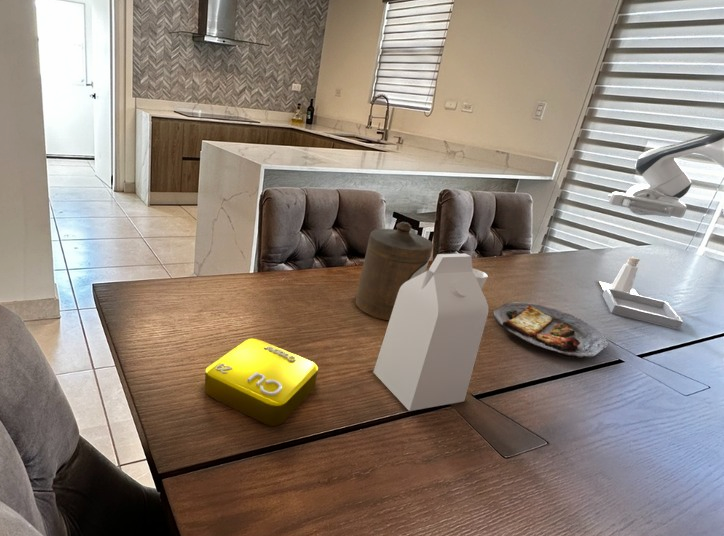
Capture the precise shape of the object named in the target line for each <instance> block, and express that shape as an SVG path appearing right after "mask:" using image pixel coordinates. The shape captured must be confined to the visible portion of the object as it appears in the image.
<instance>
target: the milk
mask: <svg viewBox="0 0 724 536" xmlns="http://www.w3.org/2000/svg"><path fill="white" fill-rule="evenodd" d="M473 269H474V268H473V259H472V256H471V255H469V254H467V253H466V252H465V253H463V252H462V253H438V254H436V256H435V258H434V260H433V261H432V263H431V265H430V267H429V268H428V269H427V270H426V272H424V273H422V274H420V275H418V276H416V277H414V278H412V279H410V280H408V281H406V282H405V283H404V284H403V285H402V286H401V287H400V289H399V292H398V295H397V298H396V301H395V304H394V308H393V311H392V314H391V317H390V320H388V324H387V327H386V330H385V333H384V337H383V340H382V343H381V346H380V349H379V352H378V355H377V359H376V362H375V365H374V369H373V371H372V373H373V374H374V375H375V376H376V377H377V378H378V379H379V380H380V381H381V383H382V384H383V385H384V386H385V387H386V388H387V389H388V390H389V391H390V392H391V393H392V394H393V396H394V397H395V398H397V400H398V401H399V402H400V403H401V404H402V406H404V408H405V409H407V410H408V412H413V411H417V410H424V409H429V408H434V407H435V408H436V407H440V406H446V405H453V404H457V403H463V402H465V400H466V396H467V393H468V389H469V386H470V382H471V378H472V375H473V370H474V366H475V363H476V360H477V356H478V353H479V349H480V345H481V343H482V342H481V341H482V337H483V334H484V330H485V326H486V323H487V319H488V315H489V304H488V301H487V298H486V297H485V294H484V292H483V289H482V290H481V288H480V286H479V283H478V281H477V279H476V277H475V275H474V273H473V272H472V271H473Z"/></svg>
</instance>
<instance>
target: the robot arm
mask: <svg viewBox="0 0 724 536" xmlns="http://www.w3.org/2000/svg"><path fill="white" fill-rule="evenodd" d="M690 155H701V156H704V157H705V158H707V159H710V160H711V161H713V162H715V163H716V164H718V165H719V166H720V167H722V168H724V132H722V131H721V132H715V133H710V134H706V135H702V136H699V137H695V138H691V139H688V140H684V141H681V142H677V143H673V144H669V145H665V146H660V147H657V148H656V147H655V148H652V149H649V150H647V151H645V152H644V153H642V154H641V155H639V156H638V157H637V159H636V162H635V168H634V169H635V170H636V172H638V173H639V175H640V176H642V178H643V179H644V180H645V182H646V183H647V184H643V183H640V184H635V185H633V186H631V187H630V188H629V189H627V191H625V192H619V191H613V192H612V193H611V194H609V193H608V195H607V197H608V198H609V200H608V204H609V205H612V206H615V207H616V206H617V207H622V208H626V209H629V211H630V212H631V213H633V214H634V215H638V216H659V217H664V218H665V217H666V218H671V217H674V218H678V219H682V218H683V217H684V215H685V214H686V213H687V212H686V211H687V207H688V206H687V205H686V204H685V203H684V202H682V201H680V199H681V198H682V197H684V196H686V195H687V193H688V192H689V191H690V189H691V187H692V183H693V181H691V179H690V178H689V176H688V174H687V173H686V172H685V171H684V170H683V169H682V167H681V166H680V165H679V163H678V162H677V159H678V158H683V157H685V156H690Z"/></svg>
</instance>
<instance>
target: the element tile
mask: <svg viewBox="0 0 724 536" xmlns="http://www.w3.org/2000/svg"><path fill="white" fill-rule="evenodd" d="M318 370H319V366H318V365H317V364H316V363H315V362H314V361H311V360H310V359H307V358H305V357H302V356H300V355H297V354H295V353H292V352H290V351H287V350H285V349H283V348H280V347H278V346H276V345H273V344H270V343H269V342H266V341H263V340H261V339H258V338H254V337H251V338H247V339H245V340H244V341H242V342H241V343H239V344H238V345H236V346H235V347H234V348H232V349H230V351H227V353H225V354H224V355H222V356H221V357H220V358H217V360H215V361H214V362H212V363H210V364H209V365H208V366H207V367H206V369H205V374H204V392H205V395H207V396H208V397H210V398H212V399H214V400H216V401H218V402H220V403H222V404H223V405H226V406H228V407H230V408H232V409H234V410H236V411H238V412H240V413H242V414H244V415H246V416H248V417H250V418H252V419H253V420H256V421H258V422H260V423H262V424H264V425H266V426H270V427H276V426H280V425H282V424H283V423H284V422H285V421H286V420H287V419H288V418H289V417H290V416H291V414H292V413H293V412H294V411H295V410H296V409H297V408H298V407H299V406H300V405H301V403H303V402H304V401H305V400H306V398H307V397H308V396H309V395H310V394H311V393H312V392H313V391H314V389H315V388H316V382H317V377H318V372H319V371H318Z"/></svg>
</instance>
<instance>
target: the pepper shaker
mask: <svg viewBox="0 0 724 536" xmlns="http://www.w3.org/2000/svg"><path fill="white" fill-rule="evenodd" d="M639 262H640V258H638V257H635V256H628V259H627V261H626V263H623V265H622V266H621V268H620V270H619V271H618V273H617V275H616V276H615V278H614V280H613V282H612V283H611V284H612V285H611V287H610V288H611V289H615V290H619V291H623V292H627V293H630V292H631V289H633V285H634V282H635V278H636V276H637V273H638V269H639V267H638V264H639Z"/></svg>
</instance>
